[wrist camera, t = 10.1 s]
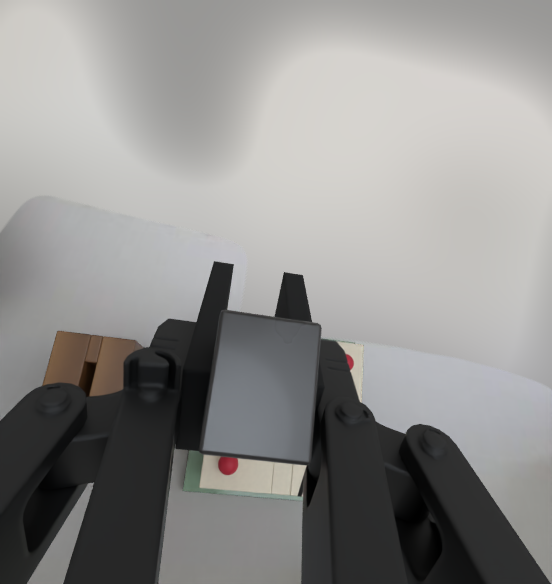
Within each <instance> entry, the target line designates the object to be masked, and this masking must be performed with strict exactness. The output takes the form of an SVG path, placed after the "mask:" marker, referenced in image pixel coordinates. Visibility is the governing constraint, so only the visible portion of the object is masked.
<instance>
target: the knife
mask: <svg viewBox="0 0 552 584" xmlns="http://www.w3.org/2000/svg"><path fill="white" fill-rule="evenodd" d="M320 341H321V325H319V324H318V323H313V322H306V321H299V320H292V319H285V318H278V317H271V316H264V315H258V314H251V313H244V312H237V311H230V310H222V311H221V313H220V317H219V323H218V329H217V335H216V342H215V348H214V354H213V360H212V367H211V373H210V379H209V385H208V391H207V398H206V404H205V410H204V416H203V423H202V429H201V435H200V441H199V448H198V449H199V453H201V454H202V455H211V456H220V457H230V458H239V459H249V460H258V461H267V462H277V463H286V464H296V465H305V466H306V465H309V464H310V462H311V458H312V445H313V432H314V419H315V406H316V393H317V380H318V367H319V354H320Z"/></svg>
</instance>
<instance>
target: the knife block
mask: <svg viewBox="0 0 552 584" xmlns="http://www.w3.org/2000/svg"><path fill="white" fill-rule="evenodd" d="M139 349H143V347H142V346H141V345H140V344H139V343H138V342H137V341H136V340H129V339H121V338H113V337H105V336H104V337H103V336H97V335H92V336H91V335H89V334H80V333H72V332H64V331H57V334H56V338H55V342H54V345H53V349H52V352H51V356H50V360H49V363H48V367H47V371H46V374H45V378H44V382H43V385H42V386H44V385H46V384H52V383H58V382H61V383H71V384H74V385H76V386H79V387H80V388H81V389H82V390H83V391H84V392H85V394H86V397H90V396H99V395H106V394H111V393H115V392H117V391H120V390H122V389H123V362H124V360H125V359H126V358H127V356H128V355H130V354H131V353H133V352H134V351H136V350H139Z"/></svg>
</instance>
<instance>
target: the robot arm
mask: <svg viewBox="0 0 552 584" xmlns="http://www.w3.org/2000/svg"><path fill="white" fill-rule="evenodd" d="M233 266H234V264H228V263H221V262H215V261H214V264H213V267H212V271H211V274H210V277H209V281H208V284H207V288H206V291H205V295H204V298H203V302H202V305H201V308H200V312H199V315H198V319H197V322H189V321H182V320H175V319H168V320H166V321H165V322H164V323H162V324H161V325H160V326H158V329H157V331H156V333H155V335H154V338H153V340H152V342H151V344H150V347H149V348H143V349H139V350H136V351H134V352H133V353H131V354H130V355H128V356H127V358H126V359H125V360H124V362H123V389H122V390H120V391H117V392H115V393H111V394H106V395H99V396H90V397H86V394H85V392H84V391H83V390H82V389H81V388H80V387H79V386H76V385H74V384H71V383H61V382H58V383H52V384H46V385H44V386H41V387H39V388H36V389H34V390H33V391H31V392H30V393H29V394H27V395H26V396H25V397H24V398H23V399H22V400H21V401H20V402H19V403H18V404H17V405H16V406H15V407H14V408H13V409H12V410H11V411H10V412H9V413H8V414H7V415H6V416H5V417H4V418H3V419H2V420H1V421H0V584H27V582H28V580H29V579H30V577H31V575H32V574H33V572H34V571H35V569H36V567H37V566H38V564H39V562H40V561H41V559H42V558H43V556H44V554H45V553H46V551H47V549H48V548H49V546H50V545H51V543H52V541H53V540H54V538H55V536H56V535H57V533H58V532H59V530H60V528H61V527H62V525H63V524H64V522H65V520H66V519H67V517H68V515H69V514H70V512H71V511H72V509H73V507H74V506H75V504H76V502H77V501H78V499H79V498H80V496H81V494H82V493H83V491H84V489H85V488H86V486H87V484H88V483H93V482H94V486H93V489H92V492H91V495H90V499H89V502H88V505H87V508H86V512H85V515H84V518H83V521H82V525H81V528H80V531H79V534H78V538H77V541H76V544H75V547H74V551H73V554H72V557H71V560H70V564H69V567H68V570H67V573H66V577H65V580H64V583H63V584H158V580H159V571H160V563H161V555H162V547H163V538H164V530H165V522H166V514H167V505H168V497H169V489H170V481H171V472H172V464H173V453H174V448H175V449H184V450H193V451H199V449H198V448H199V441H200V435H201V429H202V423H203V416H204V410H205V404H206V398H207V391H208V385H209V379H210V373H211V367H212V360H213V354H214V348H215V342H216V335H217V329H218V323H219V317H220V313H221V311H222V310H227V307H228V300H229V293H230V286H231V279H232V273H233ZM275 317H278V318H285V319H292V320H299V321H306V322H312V320H311V315H310V309H309V304H308V300H307V295H306V289H305V284H304V279H303V275H298V274H291V273H285V272H284V275H283V280H282V284H281V289H280V294H279V299H278V303H277V309H276V314H275ZM175 444H176V447H175ZM302 494H303V521H302V578H301V584H551V583H550V582H549V580H548V579H547V578H546V576H545V575H544V573H543V572H542V570H541V569H540V567H539V566H538V564H537V563H536V561H535V560H534V558H533V557H532V555H531V554H530V553H529V551H528V550H527V548H526V547H525V545H524V544H523V542H522V541H521V539H520V538H519V536H518V535H517V533H516V532H515V530H514V529H513V528H512V526H511V525H510V523H509V522H508V520H507V519H506V517H505V516H504V514H503V513H502V511H501V510H500V508H499V507H498V505H497V504H496V503H495V501H494V500H493V498H492V497H491V495H490V494H489V492H488V491H487V489H486V488H485V486H484V485H483V483H482V482H481V480H480V479H479V477H478V476H477V475H476V473H475V472H474V470H473V469H472V467H471V466H470V464H469V463H468V461H467V460H466V458H465V457H464V455H463V454H462V452H461V451H460V450H459V448H458V447H457V445H456V444H455V443H454V442H453V441H452V439H451V438H450V437H449V436H447V435H446V434H445V433H443V432H442V431H440V430H438V429H436V428H434V427H431V426H428V425H422V424H419V425H413V426H411V427H410V428H409V429H408V430H407V432H406V434H404V433H401V432H398V431H395V430H393V429H390V428H387V427H385V426H383V425H381V424H379V423H377V422H376V421H375V418H374V416H373V414H372V412H371V411H370V410H369V408H368V407H367V406H366V405H364V404H363V403H361V402H360V401H359V397H358V394H357V391H356V387H355V384H354V380H353V377H352V374H351V372H350V367H349V364H348V360H347V357H346V354H345V351H344V350H343V348H342V347H341V346H340V345H339V344H338V343H337V342H336V341H332V340H325V339H321V341H320V354H319V367H318V380H317V393H316V406H315V419H314V432H313V445H312V458H311V462H310V464H309V465H307V466H306V469H305V472H304V476H303V479H302V482H301V485H300V488H299V492H298V496H299V497H302Z"/></svg>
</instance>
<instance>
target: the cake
mask: <svg viewBox="0 0 552 584" xmlns="http://www.w3.org/2000/svg"><path fill="white" fill-rule="evenodd" d="M336 342H337V343H338V344H339V345H340V346H341V347H342V348H343V350H344V351H345V354H346V357H347V360H348V364H349V367H350V372H351V374H352V377H353V380H354V384H355V387H356V391H357V394H358V397H359V401H360V402H361V403H362V379H363V350H364V345H360V344H353V343H345V342H338V341H336ZM306 466H307V465H306ZM306 466H305V465H296V464H286V463H277V462H267V461H258V460H249V459H239V458H230V457H220V456H211V455H204V457H203V464H202V471H201V478H200V484H199V488H207V489H219V490H231V491H242V492H254V493H266V494H270V493H271V494H278V495H291V496H298V492H299V488H300V485H301V482H302V479H303V476H304V472H305V469H306ZM302 497H303V494H302Z"/></svg>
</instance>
